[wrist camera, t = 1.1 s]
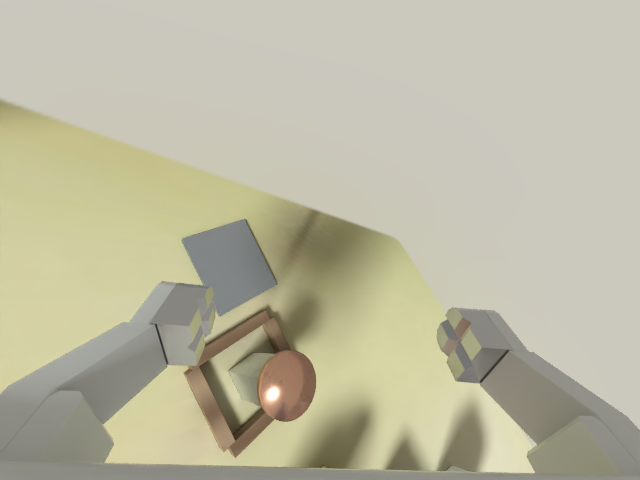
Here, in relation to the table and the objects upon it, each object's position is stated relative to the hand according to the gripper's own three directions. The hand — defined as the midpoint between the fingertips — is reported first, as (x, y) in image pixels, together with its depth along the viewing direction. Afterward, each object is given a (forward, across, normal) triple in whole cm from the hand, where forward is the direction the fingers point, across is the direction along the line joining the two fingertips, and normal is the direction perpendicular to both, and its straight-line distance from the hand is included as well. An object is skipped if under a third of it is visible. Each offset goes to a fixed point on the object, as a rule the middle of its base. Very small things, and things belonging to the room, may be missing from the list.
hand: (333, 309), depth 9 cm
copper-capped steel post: (+14, +6, +29) cm, 33 cm away
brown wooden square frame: (+14, +6, +29) cm, 33 cm away
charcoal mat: (+25, +11, +19) cm, 33 cm away
